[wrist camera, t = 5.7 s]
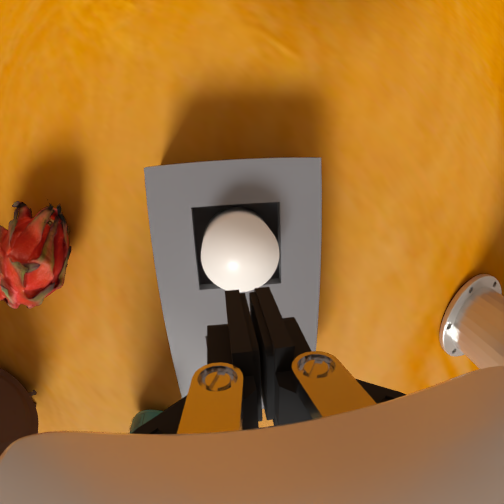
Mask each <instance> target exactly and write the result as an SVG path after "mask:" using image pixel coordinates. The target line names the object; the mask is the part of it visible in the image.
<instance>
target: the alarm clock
mask: <svg viewBox="0 0 504 504" xmlns="http://www.w3.org/2000/svg"><path fill="white" fill-rule="evenodd" d="M36 394H37V392H36V391H35V390H33V392H29V393H28V392H27V390H26V389H25V388H24V387H23V385H22V384H21V383H20V382H19V381H18V380H17V379H16V378H14V377H13V376H12V375H11V374H9V373H8V372H6V371H5V370H3V369H1V368H0V456H1V454H2V453H3V452H4V450H5V449H6V448H7V447H8V446H9V445H10V444H11V443H12V442H14V441H16V440H17V439H20V438H22V437H25V436H29V435H32V434H38V415H37V411H36V404H35V403H34V402H33V400H32V398H31V396H32V395H36Z"/></svg>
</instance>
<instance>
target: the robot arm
mask: <svg viewBox="0 0 504 504" xmlns="http://www.w3.org/2000/svg"><path fill="white" fill-rule="evenodd" d="M225 300H226V311H227V322H228V324H220V325H208V326H207V365H205V366H203V367H201V368H199V369H198V370H197V371H196V372H195V373H194V375H193V377H192V380H191V384H190V387H189V391H188V394H187V396H185V397H184V398H182V399H181V400H179V401H178V402H176V403H175V404H173V405H172V406H170V407H169V408H167V409H166V410H164V411H163V412H161V413H160V414H158V415H157V416H155V417H154V418H152V419H151V420H149V421H148V422H146V423H145V424H143V425H142V426H140V427H138V428H137V429H136V430H135V431H133V432H132V433H131V434H128V433H104V432H88V431H53V432H44V433H38V434H32V435H29V436H25V437H22V438H20V439H17V440H16V441H14V442H12V443H11V444H10V445H9V446H8V447H7V448H6V449H5V450H4V452H3V453H2V454H1V456H0V504H504V296H503V295H502V290H501V286H500V283H499V281H498V280H497V279H496V278H495V277H493V276H491V275H489V274H480V275H477V276H475V277H473V278H472V279H470V280H469V281H468V282H467V283H466V284H464V285H463V286H462V287H461V289H460V290H459V291H458V292H457V293H456V295H455V296H454V298H453V299H452V301H451V302H450V304H449V306H448V308H447V310H446V312H445V315H444V317H443V320H442V324H441V328H440V343H441V346H442V348H443V350H444V351H445V352H446V353H447V354H449V355H451V356H461V355H464V354H465V355H466V356H467V357H468V358H469V359H470V360H471V361H472V362H473V363H474V364H475V365H476V366H478V367H479V368H480V369H479V370H475V371H472V372H469V373H466V374H463V375H461V376H458V377H455V378H453V379H450V380H447V381H444V382H442V383H439V384H436V385H434V386H431V387H428V388H425V389H422V390H420V391H417V392H414V393H411V394H408V395H406V394H404V393H401V392H398V391H395V390H391V389H387V388H384V387H381V386H377V385H374V384H370V383H367V382H364V381H361V380H357V379H355V378H354V377H353V376H352V375H351V374H350V373H349V371H348V370H347V369H346V368H345V367H344V366H343V365H342V364H341V362H340V361H339V360H338V359H337V358H336V357H334V356H333V355H331V354H329V353H325V352H321V351H311V349H310V347H309V345H308V343H307V341H306V339H305V337H304V335H303V333H302V331H301V329H300V327H299V325H298V323H297V321H296V319H295V318H294V317H288V318H282V316H281V313H280V311H279V309H278V306H277V304H276V302H275V299H274V297H273V295H272V292H271V290H270V288H269V287H261V288H254V292H249V301H250V311H249V307H248V303H247V299H246V295H245V293H240V292H239V290H228V291H225ZM261 396H262V397H261ZM262 401H263V405H264V409H265V414H266V418H267V420H272V419H273V422H274V426H270V427H263V428H258V421H262Z"/></svg>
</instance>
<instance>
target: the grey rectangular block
mask: <svg viewBox="0 0 504 504" xmlns="http://www.w3.org/2000/svg"><path fill="white" fill-rule="evenodd" d="M144 173H145V185H146V196H147V206H148V215H149V224H150V232H151V240H152V248H153V255H154V262H155V269H156V275H157V281H158V287H159V293H160V299H161V305H162V310H163V316H164V321H165V326H166V331H167V336H168V341H169V345H170V350H171V355H172V359H173V363H174V368H175V372H176V376H177V380H178V384H179V388H180V392H181V396H182V398H184V397H185V396H187V394H188V391H189V387H190V384H191V380H192V377H193V375H194V373H195V372H196V371H197V370H198V369H199V368H201V367H203V366H205V365H207V326H208V325H220V324H228V322H227V311H226V300H225V291H227V290H224V289H222V288H220V287H218V286H217V285H215V284H214V283H213V282H212V281H211V280H210V279H209V278H208V276H207V275H206V273H205V271H204V269H203V266H202V262H201V248H202V242H203V236H204V231H205V228H206V226H207V224H208V222H209V221H210V219H211V218H212V217H213V216H214V215H215V214H217V213H218V212H220V211H222V210H224V209H227V208H231V207H243V208H247V209H250V210H252V211H254V212H255V213H257V214H258V215H259V216H260V217H261V218H262V219H263V221H264V222H265V223H266V225H267V226H268V227H269V229H270V230H271V231H272V233H273V234H274V236H275V238H276V240H277V242H278V246H279V262H278V265H277V268H276V270H275V272H274V274H273V275H272V277H271V278H270V279H269V280H268V281H267V282H266V283H265V284H263V285H262V286H260V287H258V288H261V287H269V288H270V290H271V292H272V295H273V297H274V299H275V302H276V304H277V306H278V309H279V311H280V313H281V316H282V318H288V317H294V318H295V319H296V321H297V323H298V325H299V327H300V329H301V331H302V333H303V335H304V337H305V339H306V341H307V343H308V345H309V347H310V349H311V351H316V341H317V327H318V311H319V292H320V268H321V227H322V178H321V158H315V157H277V158H248V159H229V160H214V161H200V162H188V163H178V164H168V165H159V166H152V167H146V168H144ZM249 292H254V290H251V291H247V292H240V293H245V295H246V299H247V303H248V307H249V311H250V301H249ZM261 397H262V396H261ZM262 409H264V405H263V401H262Z"/></svg>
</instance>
